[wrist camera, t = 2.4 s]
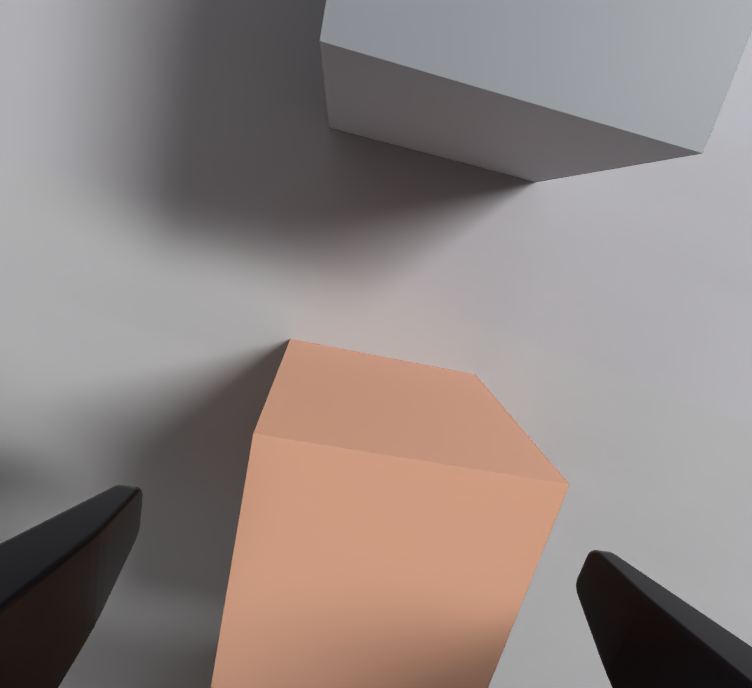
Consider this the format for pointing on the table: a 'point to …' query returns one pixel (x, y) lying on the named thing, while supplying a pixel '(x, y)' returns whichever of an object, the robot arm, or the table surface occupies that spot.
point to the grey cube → (533, 78)
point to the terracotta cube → (381, 528)
